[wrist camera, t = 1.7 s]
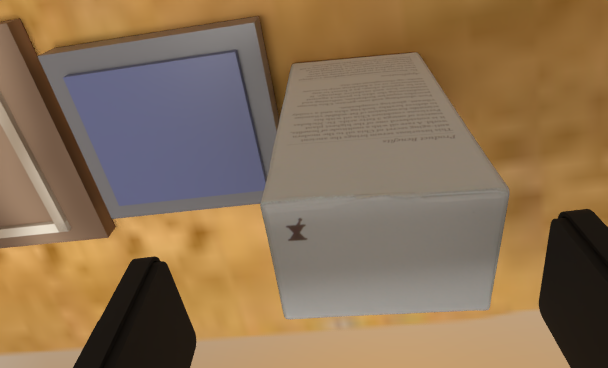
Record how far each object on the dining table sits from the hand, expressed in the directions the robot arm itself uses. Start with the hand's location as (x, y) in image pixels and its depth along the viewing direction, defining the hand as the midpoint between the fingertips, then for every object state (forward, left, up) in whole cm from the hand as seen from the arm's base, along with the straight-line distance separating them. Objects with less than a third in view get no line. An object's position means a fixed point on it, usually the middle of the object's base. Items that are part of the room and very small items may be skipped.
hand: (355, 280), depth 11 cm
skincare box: (-1, 0, -13) cm, 13 cm away
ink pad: (+8, 0, -13) cm, 15 cm away
